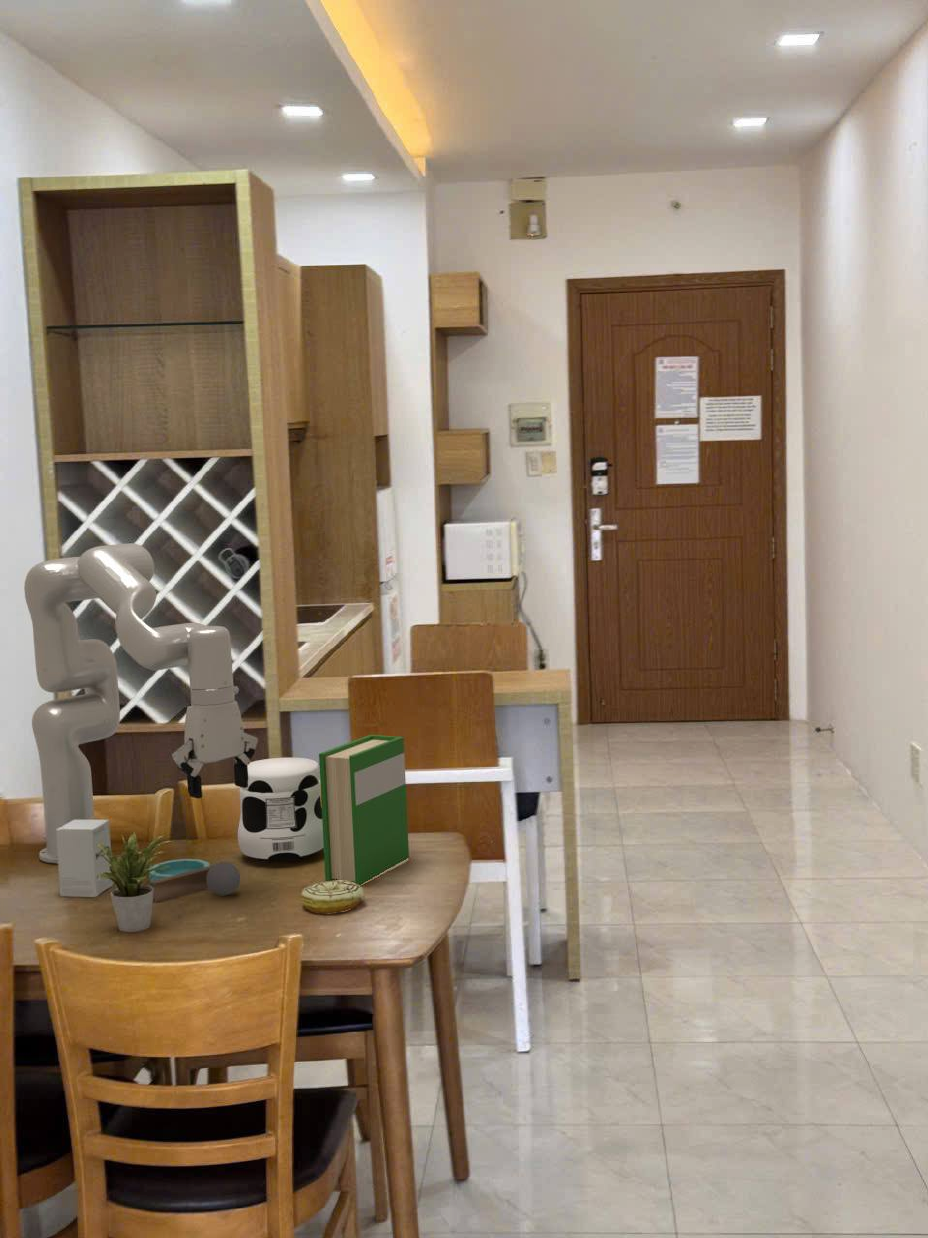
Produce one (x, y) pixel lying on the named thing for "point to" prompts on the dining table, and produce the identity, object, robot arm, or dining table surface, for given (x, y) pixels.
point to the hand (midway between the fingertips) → (219, 791)
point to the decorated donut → (332, 896)
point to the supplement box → (83, 857)
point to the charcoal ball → (223, 878)
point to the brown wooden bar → (180, 884)
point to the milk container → (281, 811)
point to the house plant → (132, 884)
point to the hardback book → (364, 808)
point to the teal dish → (176, 868)
